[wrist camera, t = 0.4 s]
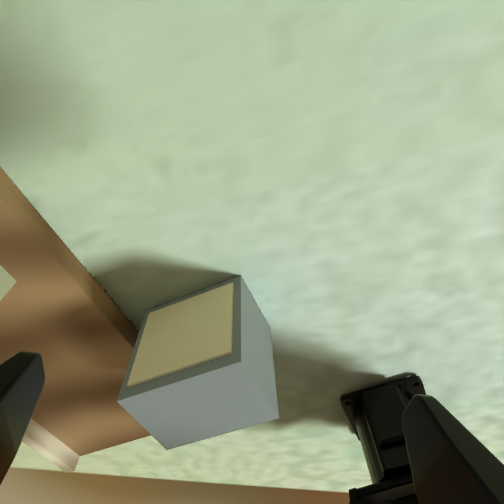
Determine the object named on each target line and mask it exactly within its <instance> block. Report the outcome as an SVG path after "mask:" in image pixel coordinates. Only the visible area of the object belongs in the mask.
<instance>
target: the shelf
mask: <svg viewBox="0 0 504 504" xmlns="http://www.w3.org/2000/svg"><path fill="white" fill-rule="evenodd" d="M0 265H1V266H2V267H3V268H4V269H5V270H6V271H7V272H8V273H9V274H10V275H11V276H12V277H13V278H14V279H15V280H16V281H17V282H16V283H15V284H14V285H13V287H12V288H11V289H10V290H9V291H8V293H7V294H6V295H5V296H4V297H3V298H2V300H1V301H0V364H2V363H3V362H5V361H6V360H8V359H9V358H11V357H12V356H14V355H15V354H17V353H18V352H21V351H29V352H38V353H40V354H41V356H42V360H43V366H44V372H45V383H44V387H43V389H42V392H41V394H40V397H39V399H38V402H37V404H36V407H35V409H34V412H33V414H32V417H31V419H30V422H29V424H28V427H27V429H26V432H25V434H24V437H23V439H22V441H23V442H24V443H25V444H27V445H28V446H29V447H31V448H32V449H34V450H35V451H36V452H38V453H39V454H41V455H42V456H43V457H45V458H46V459H48V460H49V461H50V462H52V463H53V464H54V465H56V466H57V467H59V468H60V469H61V470H63V471H64V472H66V473H68V472H72V471H75V468H76V465H77V462H78V460H79V457H80V456H82V455H85V454H89V453H92V452H95V451H99V450H102V449H106V448H109V447H112V446H116V445H119V444H123V443H126V442H130V441H133V440H136V439H140V438H143V437H147V436H150V435H151V434H150V433H149V432H148V431H147V430H146V429H145V428H144V427H143V426H142V425H141V424H140V423H139V422H138V421H136V420H135V419H134V418H133V417H132V416H131V415H130V414H129V413H128V412H127V411H126V410H125V409H124V408H123V407H122V406H121V405H120V404H119V403H118V402H117V399H118V396H119V393H120V390H121V386H122V383H123V380H124V377H125V374H126V371H127V368H128V365H129V362H130V358H131V355H132V352H133V349H134V346H135V343H136V340H137V337H138V333H139V332H138V331H137V330H136V328H135V327H134V326H133V325H132V324H131V322H130V321H129V320H128V319H127V318H126V317H125V315H124V314H123V313H122V312H121V311H120V309H119V308H118V307H117V306H116V305H115V303H114V302H113V301H112V300H111V299H110V297H109V296H108V295H107V294H106V293H105V291H104V290H103V289H102V288H101V287H100V285H99V284H98V283H97V282H96V281H95V280H94V278H93V277H92V276H91V275H90V274H89V272H88V271H87V270H86V269H85V268H84V266H83V265H82V264H81V263H80V262H79V260H78V259H77V258H76V257H75V256H74V254H73V253H72V252H71V251H70V250H69V248H68V247H67V246H66V245H65V244H64V243H63V241H62V240H61V239H60V238H59V237H58V235H57V234H56V233H55V232H54V231H53V229H52V228H51V227H50V226H49V225H48V223H47V222H46V221H45V220H44V219H43V217H42V216H41V215H40V214H39V213H38V211H37V210H36V209H35V208H34V207H33V205H32V204H31V203H30V202H29V201H28V200H27V198H26V197H25V196H24V195H23V194H22V192H21V191H20V190H19V189H18V188H17V186H16V185H15V184H14V183H13V182H12V180H11V179H10V178H9V177H8V176H7V174H6V173H5V172H4V171H3V170H2V168H1V167H0Z"/></svg>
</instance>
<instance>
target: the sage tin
mask: <svg viewBox="0 0 504 504" xmlns="http://www.w3.org/2000/svg"><path fill="white" fill-rule="evenodd" d="M16 282H17V281H16V280H15V279H14V278H13V277H12V276H11V275H10V274H9V273H8V272H7V271H6V270H5V269H4V268H3V267H2V266H1V265H0V301H1V300H2V298H3V297H4V296H5V295H6V294H7V293H8V291H9V290H10V289H11V288H12V287H13V285H14V284H15V283H16Z"/></svg>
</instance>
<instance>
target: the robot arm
mask: <svg viewBox="0 0 504 504" xmlns="http://www.w3.org/2000/svg"><path fill="white" fill-rule="evenodd" d="M44 383H45V372H44V366H43V360H42V356H41V354H40V353H38V352H29V351H21V352H18V353H17V354H15V355H14V356H12V357H11V358H9V359H8V360H6V361H5V362H3V363H2V364H0V485H1V483H2V481H3V479H4V477H5V475H6V473H7V471H8V469H9V468H10V466H11V464H12V462H13V460H14V458H15V455H16V453H17V451H18V449H19V446H20V444H21V442H22V439H23V437H24V434H25V432H26V429H27V427H28V424H29V422H30V419H31V417H32V414H33V412H34V409H35V407H36V404H37V402H38V399H39V397H40V394H41V392H42V389H43V387H44ZM340 401H341V405H342V407H343V409H344V411H345V413H346V415H347V417H348V419H349V421H350V423H351V425H352V427H353V429H354V431H355V433H356V435H357V437H358V439H359V441H361V445H362V448H363V452H364V455H365V459H366V462H367V466H368V469H369V473H370V476H371V480H372V483H373V484H371V485H368V486H365V487H361V488H358V489H357V488H353V489H350V490H349V497H350V502H349V504H504V465H503V464H502V463H501V462H500V461H499V460H498V459H497V458H496V457H495V456H494V455H493V454H492V453H491V452H490V451H489V450H488V449H487V448H486V447H485V446H484V445H483V444H482V443H481V442H480V441H479V440H478V439H477V438H476V437H475V436H474V435H472V434H471V433H470V432H469V431H468V430H467V429H466V428H465V427H464V426H463V425H462V424H461V423H460V422H459V421H458V420H457V419H456V418H455V417H454V416H453V415H452V414H451V413H450V412H449V411H448V410H447V409H446V408H445V407H444V406H443V405H442V404H441V403H440V402H438V401H437V400H436V399H435V398H434V397H432V396H430V395H426V393H425V390H424V386H423V382H422V380H421V378H420V377H419V376H412V377H408V378H404V379H401V380H397V381H394V382H390V383H387V384H383V385H380V386H376V387H373V388H369V389H366V390H362V391H359V392H355V393H352V394H348V395H345V396H342V397H341V399H340Z"/></svg>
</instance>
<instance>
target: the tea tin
mask: <svg viewBox="0 0 504 504" xmlns="http://www.w3.org/2000/svg"><path fill="white" fill-rule="evenodd" d="M117 402H118V403H119V404H120V405H121V406H122V407H123V408H124V409H125V410H126V411H127V412H128V413H129V414H130V415H131V416H132V417H133V418H134V419H135V420H136V421H138V422H139V423H140V424H141V425H142V426H143V427H144V428H145V429H146V430H147V431H148V432H149V433H150V434H151V435H152V436H153V437H154V438H155V439H156V440H157V441H158V442H159V443H160V444H161V445H162V446H163V447H164V448H165V449H166V450H168V449H172V448H175V447H179V446H183V445H186V444H190V443H193V442H197V441H200V440H204V439H208V438H211V437H215V436H218V435H222V434H225V433H229V432H232V431H236V430H240V429H243V428H247V427H250V426H254V425H257V424H261V423H264V422H268V421H272V420H275V419H279V412H278V402H277V392H276V381H275V371H274V361H273V350H272V340H271V330H270V326H269V324H268V323H267V321H266V319H265V317H264V316H263V314H262V312H261V310H260V308H259V307H258V305H257V303H256V301H255V299H254V298H253V296H252V294H251V292H250V291H249V289H248V287H247V285H246V283H245V282H244V280H243V278H242V276H241V275H240V276H238V277H235V278H232V279H229V280H227V281H224V282H221V283H219V284H216V285H213V286H211V287H208V288H205V289H202V290H200V291H197V292H194V293H192V294H189V295H186V296H183V297H181V298H178V299H175V300H173V301H170V302H167V303H164V304H162V305H159V306H156V307H154V308H151V309H148V310H146V312H145V315H144V318H143V321H142V324H141V327H140V330H139V333H138V337H137V340H136V343H135V346H134V349H133V352H132V355H131V358H130V362H129V365H128V368H127V371H126V374H125V377H124V380H123V383H122V386H121V390H120V393H119V396H118V399H117Z"/></svg>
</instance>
